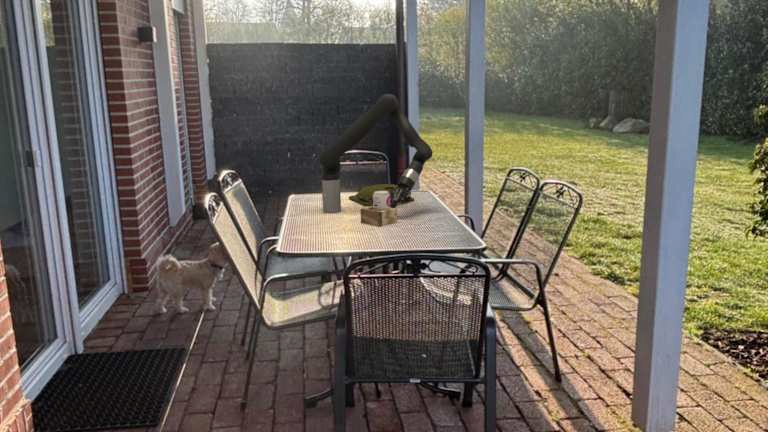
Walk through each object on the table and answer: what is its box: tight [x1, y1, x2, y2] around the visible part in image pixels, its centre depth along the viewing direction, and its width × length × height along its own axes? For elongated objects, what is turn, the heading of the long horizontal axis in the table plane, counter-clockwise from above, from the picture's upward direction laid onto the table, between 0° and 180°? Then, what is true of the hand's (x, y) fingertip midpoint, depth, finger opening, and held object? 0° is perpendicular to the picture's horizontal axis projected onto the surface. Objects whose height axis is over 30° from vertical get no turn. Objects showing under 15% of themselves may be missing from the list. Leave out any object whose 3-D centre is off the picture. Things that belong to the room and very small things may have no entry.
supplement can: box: [372, 191, 391, 211], centre depth 316 cm, size 8×8×15 cm
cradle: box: [360, 205, 398, 228], centre depth 316 cm, size 12×13×7 cm
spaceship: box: [348, 183, 415, 207], centre depth 374 cm, size 35×31×10 cm
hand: (392, 207), depth 322 cm, fingers closed
